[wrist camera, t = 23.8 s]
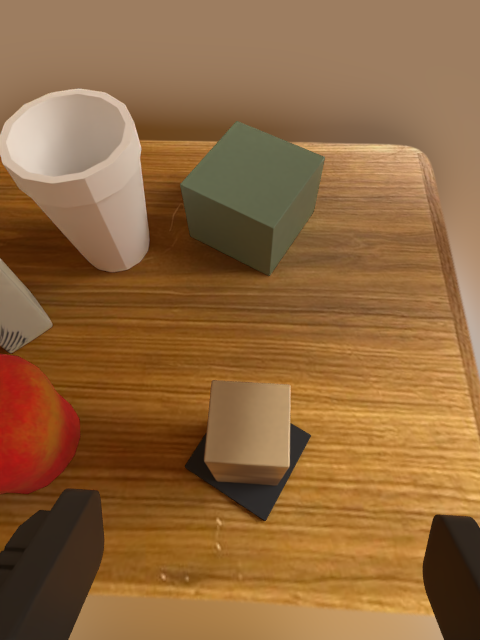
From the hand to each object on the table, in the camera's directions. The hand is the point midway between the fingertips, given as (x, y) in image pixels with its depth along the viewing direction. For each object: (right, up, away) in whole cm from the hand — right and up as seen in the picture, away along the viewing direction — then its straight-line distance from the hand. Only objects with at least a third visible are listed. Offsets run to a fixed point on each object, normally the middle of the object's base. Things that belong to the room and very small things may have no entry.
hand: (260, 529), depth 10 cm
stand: (+1, +15, +32) cm, 35 cm away
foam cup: (-12, +12, +31) cm, 36 cm away
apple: (-16, -5, +23) cm, 28 cm away
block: (0, -5, +22) cm, 22 cm away
